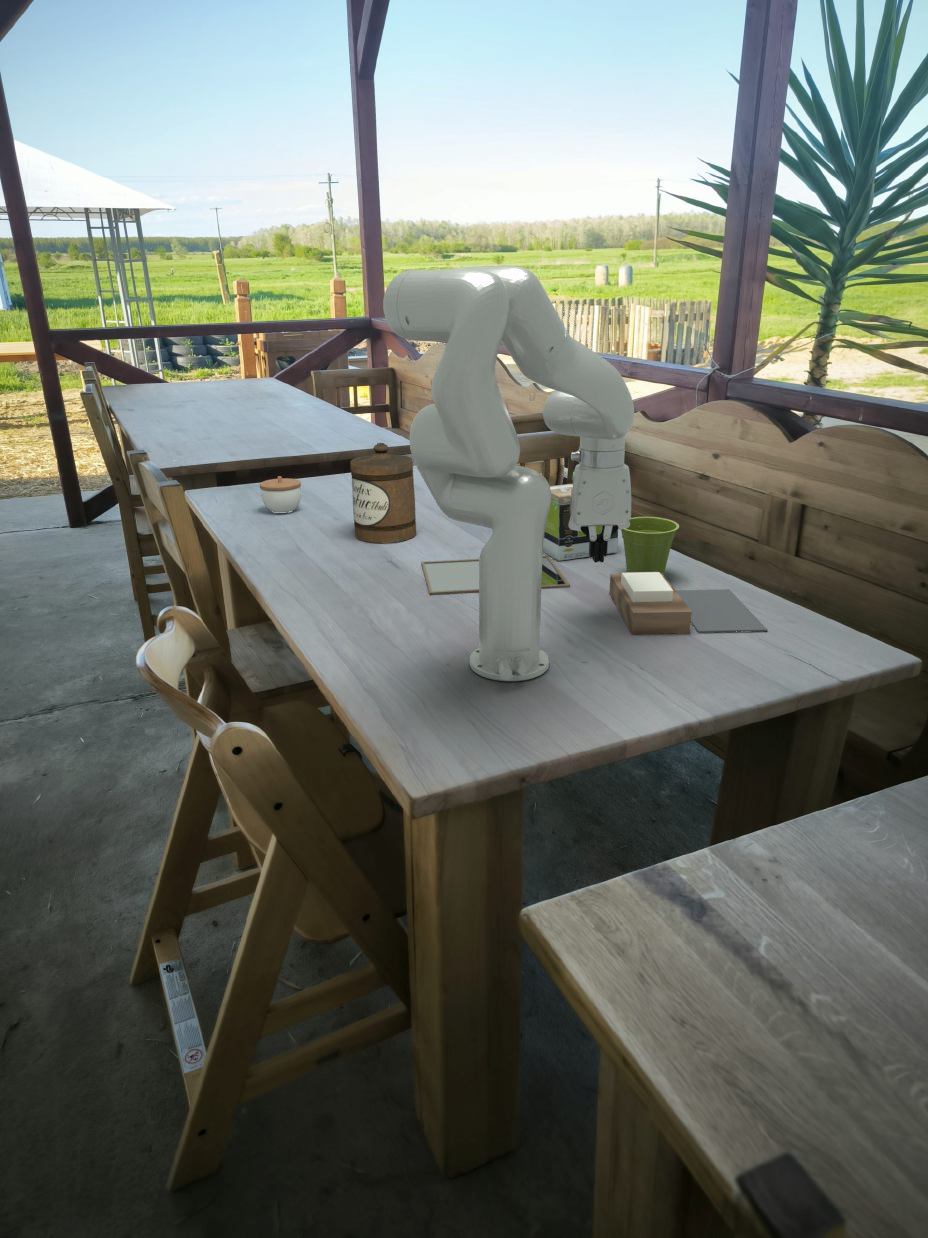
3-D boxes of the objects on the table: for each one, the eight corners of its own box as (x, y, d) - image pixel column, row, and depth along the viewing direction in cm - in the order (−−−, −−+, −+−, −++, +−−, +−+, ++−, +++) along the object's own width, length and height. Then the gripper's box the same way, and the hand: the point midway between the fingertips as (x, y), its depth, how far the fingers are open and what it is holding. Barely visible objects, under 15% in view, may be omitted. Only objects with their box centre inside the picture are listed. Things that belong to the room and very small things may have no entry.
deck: (689, 633, 140) (691, 611, 138) (631, 634, 140) (633, 612, 138) (660, 592, 158) (662, 573, 157) (609, 593, 158) (610, 574, 157)
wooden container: (342, 534, 198) (336, 443, 189) (391, 523, 207) (387, 435, 198) (378, 547, 187) (374, 452, 179) (428, 535, 196) (426, 443, 188)
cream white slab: (672, 601, 143) (673, 590, 142) (632, 602, 143) (633, 591, 142) (658, 582, 152) (659, 572, 152) (621, 582, 152) (621, 572, 151)
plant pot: (627, 564, 174) (630, 513, 170) (681, 573, 169) (686, 521, 164) (606, 581, 165) (609, 527, 161) (663, 591, 159) (668, 535, 155)
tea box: (595, 542, 190) (598, 479, 184) (617, 554, 181) (622, 488, 176) (537, 549, 185) (538, 485, 179) (557, 562, 176) (560, 495, 171)
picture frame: (429, 597, 159) (569, 589, 162) (429, 592, 158) (570, 584, 162) (421, 566, 176) (547, 559, 180) (421, 561, 176) (548, 555, 179)
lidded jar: (268, 506, 224) (264, 472, 220) (307, 506, 223) (304, 472, 220) (257, 516, 214) (253, 481, 210) (298, 516, 213) (294, 480, 210)
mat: (767, 631, 140) (767, 629, 140) (698, 633, 140) (698, 630, 140) (729, 591, 159) (729, 589, 159) (667, 592, 159) (668, 590, 158)
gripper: (561, 464, 135) (558, 568, 142) (650, 461, 135) (644, 565, 142) (555, 454, 142) (553, 554, 149) (640, 451, 142) (634, 551, 149)
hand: (597, 559), depth 146 cm, fingers closed
